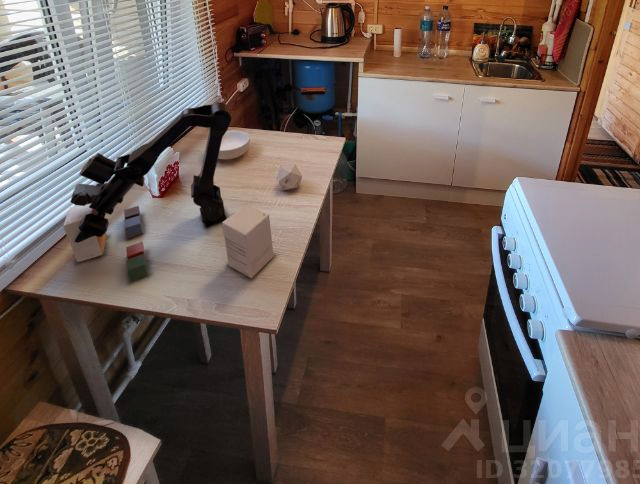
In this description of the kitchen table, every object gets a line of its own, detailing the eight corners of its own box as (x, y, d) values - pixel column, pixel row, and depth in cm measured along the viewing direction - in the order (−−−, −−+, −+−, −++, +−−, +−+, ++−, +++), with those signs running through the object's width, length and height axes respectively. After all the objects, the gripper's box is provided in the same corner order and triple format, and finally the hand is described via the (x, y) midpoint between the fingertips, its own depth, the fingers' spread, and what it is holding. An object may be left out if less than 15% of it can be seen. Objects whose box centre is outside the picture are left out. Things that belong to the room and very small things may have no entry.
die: (272, 188, 138) (273, 179, 130) (283, 166, 143) (284, 156, 135) (293, 197, 138) (295, 189, 129) (304, 175, 143) (306, 166, 135)
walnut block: (141, 215, 123) (138, 205, 121) (141, 223, 120) (139, 212, 118) (126, 220, 121) (124, 210, 119) (127, 227, 118) (124, 217, 116)
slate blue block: (142, 225, 119) (139, 215, 117) (143, 233, 115) (140, 223, 114) (127, 230, 117) (124, 220, 115) (127, 238, 113) (125, 228, 112)
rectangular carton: (251, 244, 112) (246, 202, 107) (274, 256, 108) (270, 213, 102) (227, 265, 105) (220, 222, 99) (250, 279, 100) (245, 235, 95)
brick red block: (145, 252, 109) (142, 241, 107) (146, 261, 105) (143, 250, 104) (129, 258, 107) (126, 247, 105) (129, 268, 104) (126, 256, 102)
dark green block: (146, 265, 104) (143, 253, 103) (147, 275, 101) (144, 264, 100) (129, 271, 103) (126, 259, 101) (130, 282, 99) (127, 270, 98)
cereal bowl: (244, 166, 149) (242, 150, 147) (202, 165, 150) (199, 150, 147) (255, 144, 165) (254, 129, 163) (217, 143, 165) (215, 129, 163)
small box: (103, 255, 107) (90, 218, 102) (76, 263, 105) (62, 226, 100) (107, 235, 114) (95, 200, 109) (82, 242, 112) (69, 207, 107)
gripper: (94, 158, 111) (59, 199, 111) (79, 197, 95) (37, 244, 94) (131, 175, 116) (97, 214, 116) (122, 214, 100) (83, 259, 100)
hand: (80, 231), depth 107 cm, fingers closed on small box, 8 cm apart
